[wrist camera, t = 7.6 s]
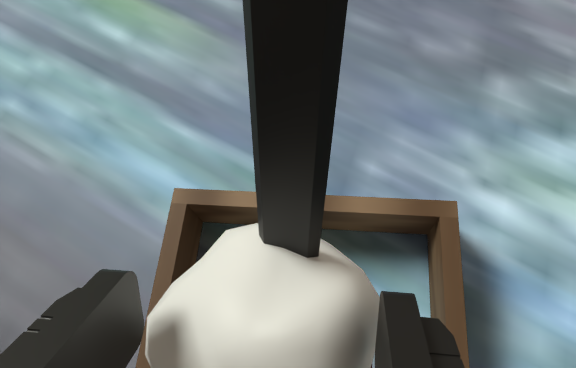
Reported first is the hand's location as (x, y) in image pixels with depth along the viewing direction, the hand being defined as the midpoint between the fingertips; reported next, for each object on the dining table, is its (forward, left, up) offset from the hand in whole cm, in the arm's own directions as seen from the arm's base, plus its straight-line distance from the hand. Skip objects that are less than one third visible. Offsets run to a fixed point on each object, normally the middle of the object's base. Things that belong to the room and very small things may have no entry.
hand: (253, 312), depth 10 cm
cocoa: (0, 0, -6) cm, 6 cm away
